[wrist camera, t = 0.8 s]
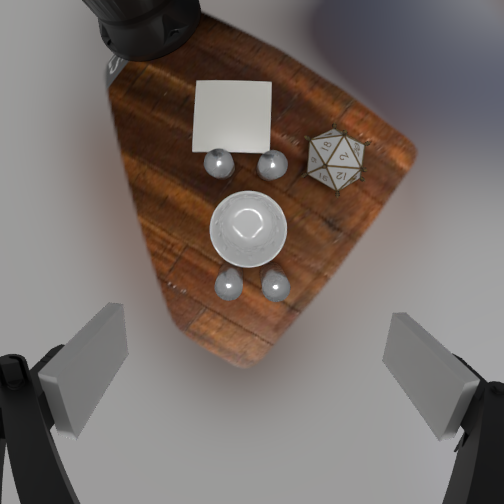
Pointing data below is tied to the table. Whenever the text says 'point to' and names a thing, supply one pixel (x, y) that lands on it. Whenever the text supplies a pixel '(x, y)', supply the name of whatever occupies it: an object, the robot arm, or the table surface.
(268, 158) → the spacer posts
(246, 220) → the white cup
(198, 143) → the coaster
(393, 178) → the table surface
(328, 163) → the game die
